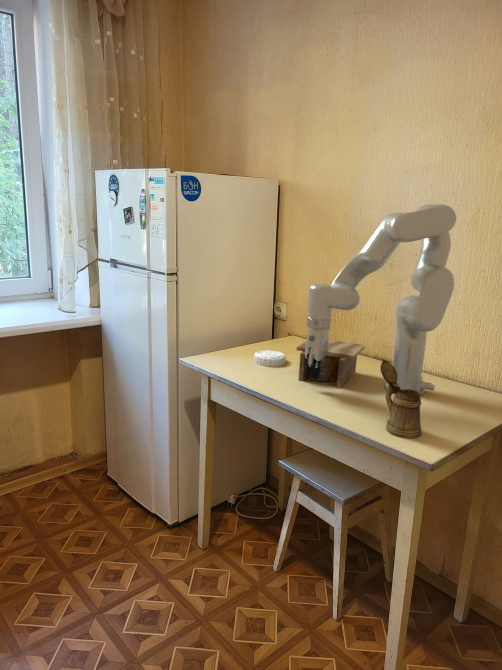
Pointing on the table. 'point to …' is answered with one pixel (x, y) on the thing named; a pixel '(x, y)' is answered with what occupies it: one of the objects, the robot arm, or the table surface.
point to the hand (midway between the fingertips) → (313, 378)
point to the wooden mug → (401, 405)
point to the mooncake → (269, 358)
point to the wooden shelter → (336, 349)
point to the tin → (329, 368)
